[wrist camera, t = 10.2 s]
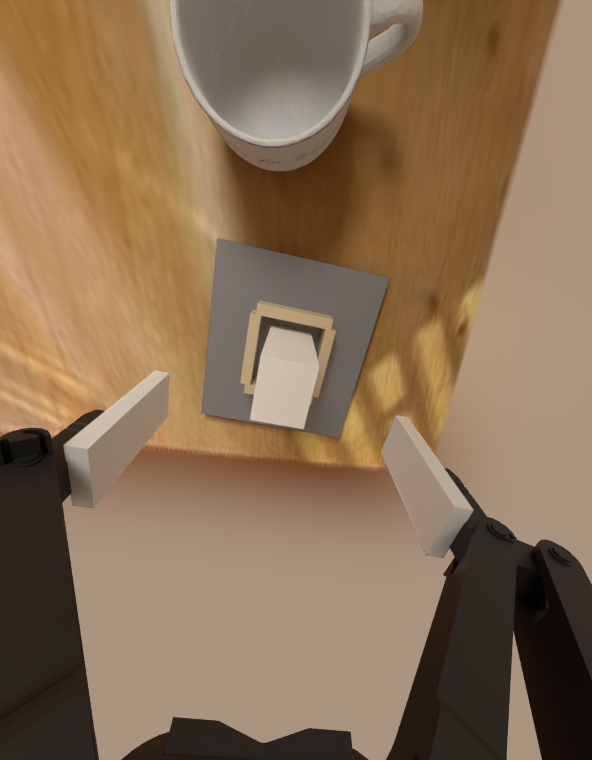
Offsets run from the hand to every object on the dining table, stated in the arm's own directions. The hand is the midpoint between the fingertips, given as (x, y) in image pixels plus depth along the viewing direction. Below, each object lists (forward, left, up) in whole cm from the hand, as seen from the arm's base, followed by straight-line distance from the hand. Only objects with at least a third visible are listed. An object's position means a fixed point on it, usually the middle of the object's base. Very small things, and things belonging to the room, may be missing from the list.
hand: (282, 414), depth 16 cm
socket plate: (0, 0, -15) cm, 15 cm away
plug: (0, 0, -14) cm, 14 cm away
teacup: (-20, -3, -15) cm, 25 cm away
